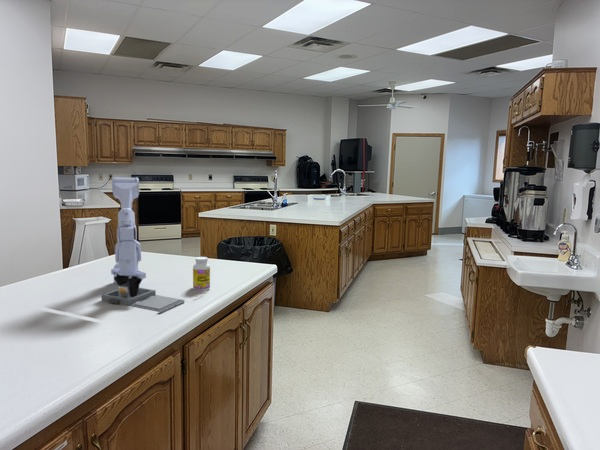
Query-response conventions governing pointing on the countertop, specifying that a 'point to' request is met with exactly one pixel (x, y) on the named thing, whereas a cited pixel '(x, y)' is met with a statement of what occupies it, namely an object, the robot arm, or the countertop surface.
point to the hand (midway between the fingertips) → (129, 295)
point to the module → (125, 291)
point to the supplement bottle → (201, 274)
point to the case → (144, 300)
